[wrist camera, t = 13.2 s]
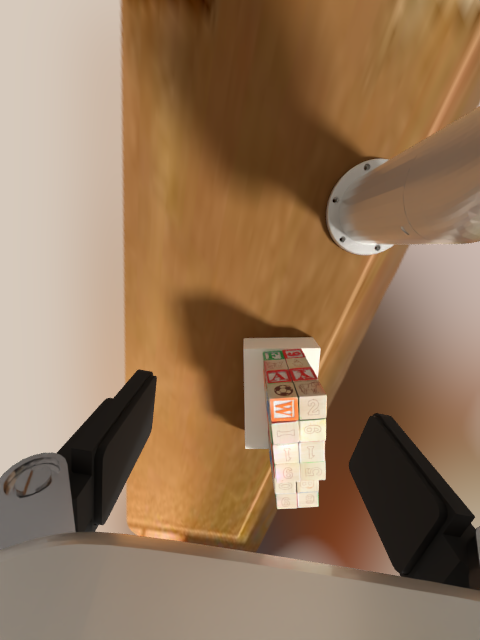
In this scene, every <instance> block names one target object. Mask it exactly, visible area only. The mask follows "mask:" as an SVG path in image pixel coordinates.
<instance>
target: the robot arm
mask: <svg viewBox="0 0 480 640" xmlns="http://www.w3.org/2000/svg"><path fill="white" fill-rule="evenodd" d="M364 167H365V170H364ZM333 199H334V200H335V203H333ZM326 223H327V228H328V231H329V233H330V236H331V237H332V239H333V240H334V242H335V243H336V244H337V245H338V246H339V247H340V248H342V249H344V250H345V251H347V252H350V253H352V254H358V255H372V254H377V253H380V252H383V251H385V250H387V249H388V248H390V247H392V246H393V245H394V244H466V243H474V242H479V241H480V106H479V107H478V108H476V109H475V110H473V111H471V112H470V113H468V114H466V115H465V116H463V117H461V118H460V119H458V120H456V121H454V122H453V123H451V124H449V125H448V126H446V127H444V128H443V129H441V130H439V131H438V132H436V133H434V134H433V135H431V136H429V137H427V138H426V139H424V140H422V141H421V142H419V143H417V144H416V145H414V146H412V147H410V148H409V149H407V150H405V151H404V152H402V153H400V154H398V155H397V156H395V157H393V158H392V159H390V160H389V159H382V158H381V159H371V160H368V161H365V162H362V163H360V164H358V165H356V166H355V167H353V168H352V169H350V170H349V171H348V172H347V173H346V174H344V175H343V176H342V177H341V178H340V180H339V181H338V182H337V183H336V185H335V186H334V188H333V190H332V192H331V194H330V197H329V200H328V203H327V208H326ZM340 238H341V239H342V240H341V241H340ZM375 246H376V249H375ZM156 381H157V377H156V376H153V373H152V372H150V371H144V370H137V371H136V373H135V374H134V375H133V376H132V377H131V378H130V380H129V381H128V382H127V383H126V384H125V385H124V387H123V388H122V389H121V390H120V391H119V392H118V394H117V395H116V396H115V397H114V398H108V399H106V400H105V401H103V403H102V404H101V405H100V406H99V407H98V408H97V409H96V410H95V411H94V412H93V414H92V415H91V416H90V417H89V418H88V419H87V420H86V421H85V422H84V423H83V425H82V426H81V427H80V428H79V429H78V430H77V431H76V432H75V434H74V435H73V436H72V437H71V438H70V439H69V440H68V441H67V442H66V443H65V445H64V446H63V447H62V448H61V449H60V450H59V451H58V452H57V453H41V454H37V455H33V456H30V457H28V458H26V459H23V460H21V461H20V462H18V463H16V464H15V465H13V466H12V467H11V468H10V469H8V470H7V471H6V472H5V473H4V474H3V475H2V476H1V478H0V640H480V526H479V527H478V528H476V529H475V528H474V527H473V526H472V524H471V522H472V521H473V519H474V518H475V516H474V515H473V514H472V513H471V511H470V510H469V509H468V508H467V506H466V505H465V504H464V503H463V502H462V500H461V499H460V498H459V497H458V496H457V494H456V493H455V492H454V491H453V490H452V488H451V487H450V486H449V485H448V484H447V482H446V481H445V480H444V479H443V478H442V476H441V475H440V474H439V473H438V472H437V470H436V469H435V468H434V467H433V466H432V465H431V463H430V462H429V461H428V460H427V458H426V457H425V456H424V455H423V454H422V453H421V452H420V450H419V449H418V448H417V447H416V445H415V444H414V443H413V442H412V441H411V439H410V438H409V437H408V436H407V435H406V433H404V431H403V430H402V429H401V427H400V426H399V425H398V424H397V423H396V421H395V420H394V419H393V418H392V417H391V416H389V415H383V414H378V413H376V414H374V415H373V416H370V417H369V419H368V421H367V423H366V426H365V428H364V430H363V433H362V434H361V437H360V439H359V441H358V443H357V446H356V448H355V450H354V452H353V455H352V457H351V459H350V462H349V469H350V472H351V474H352V477H353V479H354V481H355V483H356V485H357V488H358V490H359V492H360V494H361V496H362V499H363V501H364V503H365V505H366V508H367V510H368V512H369V514H370V516H371V518H372V521H373V523H374V525H375V527H376V529H377V532H378V534H379V536H380V538H381V541H382V543H383V545H384V547H385V550H386V552H387V554H388V556H389V558H390V560H391V563H392V565H393V567H394V568H395V570H396V571H397V572H399V573H400V576H395V575H389V574H383V573H376V572H371V571H364V570H359V569H353V568H347V567H340V566H334V565H328V564H322V563H315V562H309V561H303V560H296V559H290V558H284V557H277V556H272V555H265V554H259V553H252V552H246V551H239V550H233V549H226V548H220V547H213V546H207V545H200V544H194V543H187V542H181V541H174V540H166V539H158V538H151V537H143V536H136V535H128V534H117V533H104V532H95V530H96V529H97V527H98V525H104V524H105V522H106V520H107V519H108V517H109V515H110V513H111V511H112V509H113V507H114V505H115V503H116V501H117V499H118V497H119V495H120V493H121V491H122V489H123V487H124V485H125V483H126V481H127V479H128V477H129V475H130V473H131V471H132V469H133V467H134V465H135V463H136V461H137V459H138V457H139V455H140V453H141V451H142V449H143V447H144V445H145V443H146V441H147V439H148V437H149V435H150V433H151V429H152V422H153V412H154V401H155V391H156Z"/></svg>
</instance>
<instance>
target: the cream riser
mask: <svg viewBox="0 0 480 640" xmlns="http://www.w3.org/2000/svg"><path fill="white" fill-rule="evenodd" d="M290 349H302V351H303V353H304V354H305V356H306V359H307V361H308V362H309V364H310V366H311V367H312V369H313V370H314V372H315V374H316V376H317V378H318V369H319V358H320V347H319V346H318V344H317V343H316V341H315V340H314V339H313V337H297V338H244V347H243V351H244V406H245V449H269V444H268V420H267V409H266V403H265V391H264V375H263V369H264V367H263V352H267V351H282V350H290Z"/></svg>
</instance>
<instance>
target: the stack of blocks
mask: <svg viewBox="0 0 480 640" xmlns="http://www.w3.org/2000/svg"><path fill="white" fill-rule="evenodd" d="M263 367H264V369H263V375H264V391H265V403H266V409H267V420H268V444H269V453H270V462H271V470H272V479H273V486H274V490H275V496H276V504H277V509H287V508H288V509H289V508H298V507H299V508H300V507H318V506H319V504H318V491H319V484H318V483H319V482H318V481H319V480H325V478H326V476H325V473H326V471H325V440H326V413H327V395H326V393H325V391H324V389H323V387H322V386H321V384H320V382H319V381H318V378H317V376H316V374H315V372H314V370H313V369H312V367H311V366H310V364H309V362H308V361H307V359H306V356H305V354H304V353H303V351H302V349H290V350H282V351H267V352H263Z"/></svg>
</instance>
